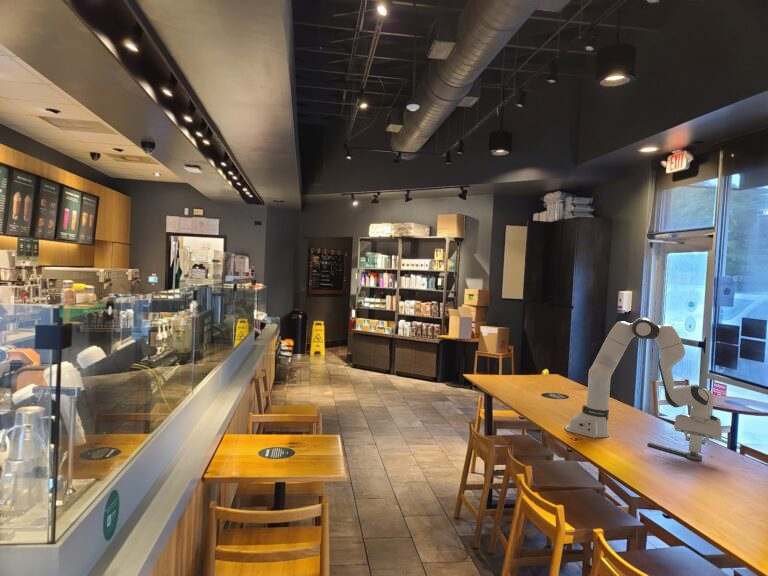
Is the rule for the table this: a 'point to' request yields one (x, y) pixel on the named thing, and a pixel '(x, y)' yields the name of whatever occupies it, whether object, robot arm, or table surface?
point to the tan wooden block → (695, 442)
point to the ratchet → (678, 452)
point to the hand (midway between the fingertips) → (695, 442)
